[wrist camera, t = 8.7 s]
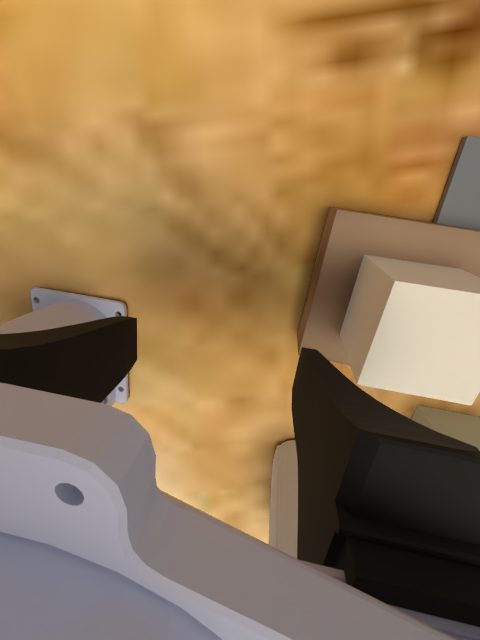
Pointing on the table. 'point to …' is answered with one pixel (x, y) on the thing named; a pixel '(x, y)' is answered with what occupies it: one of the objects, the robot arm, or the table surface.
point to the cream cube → (415, 329)
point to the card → (462, 188)
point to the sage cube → (450, 424)
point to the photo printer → (284, 499)
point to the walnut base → (375, 240)
